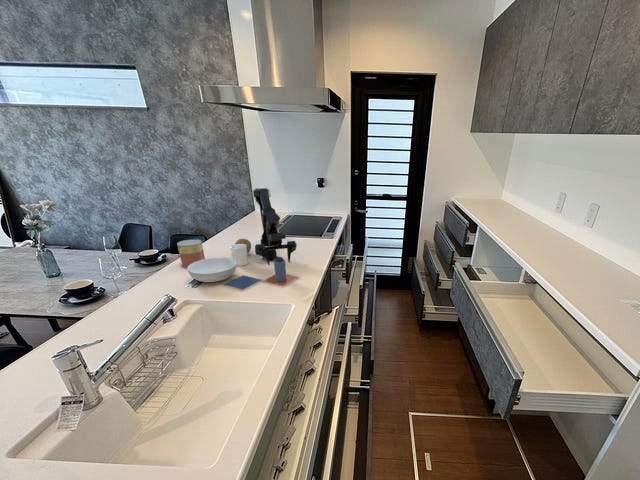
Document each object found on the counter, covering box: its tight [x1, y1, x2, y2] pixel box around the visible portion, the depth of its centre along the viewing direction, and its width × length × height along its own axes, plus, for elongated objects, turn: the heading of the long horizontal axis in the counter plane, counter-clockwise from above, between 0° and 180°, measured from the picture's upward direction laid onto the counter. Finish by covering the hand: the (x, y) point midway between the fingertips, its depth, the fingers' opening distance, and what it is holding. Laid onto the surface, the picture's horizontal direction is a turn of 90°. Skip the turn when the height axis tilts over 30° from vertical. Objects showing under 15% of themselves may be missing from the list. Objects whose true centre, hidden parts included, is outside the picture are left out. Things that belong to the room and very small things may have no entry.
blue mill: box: [273, 256, 287, 282], centre depth 142 cm, size 5×5×11 cm
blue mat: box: [222, 275, 262, 290], centre depth 141 cm, size 12×12×1 cm
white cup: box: [229, 243, 248, 267], centre depth 162 cm, size 8×8×10 cm
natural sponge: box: [234, 238, 252, 255], centre depth 174 cm, size 9×9×10 cm
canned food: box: [176, 238, 206, 269], centre depth 159 cm, size 11×11×12 cm
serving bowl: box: [186, 257, 237, 283], centre depth 144 cm, size 21×21×7 cm
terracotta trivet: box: [263, 273, 299, 287], centre depth 146 cm, size 12×12×1 cm
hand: (279, 263), depth 141 cm, fingers open, 9 cm apart
